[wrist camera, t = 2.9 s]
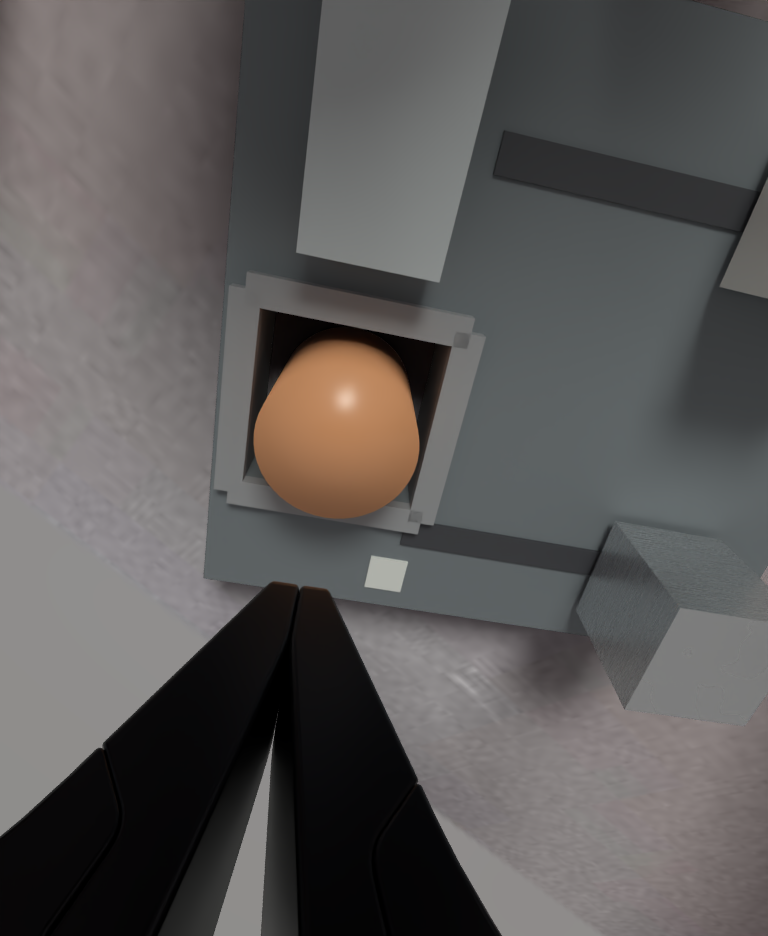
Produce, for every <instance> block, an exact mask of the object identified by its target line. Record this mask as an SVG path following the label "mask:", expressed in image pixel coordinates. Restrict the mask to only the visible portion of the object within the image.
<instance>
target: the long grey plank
mask: <svg viewBox="0 0 768 936" xmlns="http://www.w3.org/2000/svg"><path fill="white" fill-rule="evenodd" d="M510 2H511V0H322V9H321V18H320V28H319V38H318V47H317V57H316V66H315V76H314V86H313V95H312V105H311V115H310V124H309V134H308V143H307V153H306V163H305V172H304V182H303V191H302V201H301V211H300V220H299V230H298V239H297V249H296V253H301V254H306V255H310V256H315V257H320V258H325V259H329V260H334V261H339V262H344V263H348V264H353V265H358V266H363V267H367V268H372V269H377V270H382V271H386V272H391V273H396V274H401V275H405V276H410V277H415V278H420V279H424V280H429V281H434V282H440V278H441V274H442V270H443V266H444V262H445V258H446V254H447V251H448V247H449V243H450V239H451V235H452V231H453V227H454V223H455V219H456V215H457V211H458V207H459V203H460V199H461V195H462V191H463V188H464V184H465V180H466V176H467V172H468V168H469V164H470V160H471V156H472V152H473V148H474V144H475V140H476V136H477V132H478V128H479V125H480V121H481V117H482V113H483V109H484V105H485V101H486V97H487V93H488V89H489V85H490V81H491V77H492V73H493V69H494V65H495V61H496V58H497V54H498V50H499V46H500V42H501V38H502V34H503V30H504V26H505V22H506V18H507V14H508V10H509V6H510Z"/></svg>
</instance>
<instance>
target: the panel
mask: <svg viewBox="0 0 768 936" xmlns="http://www.w3.org/2000/svg"><path fill="white" fill-rule="evenodd" d="M321 9H322V0H245V9H244V23H243V37H242V51H241V65H240V79H239V93H238V106H237V120H236V134H235V148H234V162H233V176H232V190H231V204H230V218H229V232H228V245H227V259H226V273H225V287H224V301H223V315H222V329H221V343H220V357H219V371H218V384H217V398H216V412H215V426H214V440H213V454H212V468H211V482H210V496H209V510H208V523H207V537H206V551H205V565H204V578H206V579H212V580H219V581H226V582H232V583H239V584H246V585H252V586H259V587H266V586H267V585H268V584H269V583H270V582H273V581H277V582H284V583H291V584H296V585H298V587H299V591H300V588H301V587H302V586H311V587H318V588H325V589H327V590H329V591H330V593H331V595H332V597H333V598H338V599H345V600H352V601H358V602H365V603H372V604H378V605H385V606H391V607H398V608H405V609H411V610H418V611H425V612H431V613H438V614H444V615H451V616H458V617H464V618H471V619H478V620H484V621H491V622H498V623H504V624H511V625H517V626H524V627H531V628H537V629H544V630H551V631H557V632H564V633H570V634H577V635H584V636H588V634H587V632H586V630H585V628H584V626H583V624H582V622H581V620H580V618H579V616H578V614H577V612H576V608H577V606H578V603H579V601H580V599H581V597H582V594H583V592H584V590H585V588H586V585H587V583H588V581H589V579H590V576H591V574H592V572H593V570H594V567H595V565H596V563H597V561H598V558H599V556H600V554H601V552H602V549H603V547H604V545H605V543H606V540H607V538H608V536H609V534H610V531H611V529H612V527H613V525H614V522H615V521H617V522H623V523H628V524H634V525H640V526H646V527H652V528H657V529H663V530H669V531H675V532H681V533H686V534H692V535H698V536H704V537H709V538H715V539H721V540H722V541H723V542H724V543H725V544H726V545H727V546H728V547H729V548H730V549H731V550H732V551H733V552H734V553H735V554H736V555H737V556H738V557H739V558H740V559H741V560H742V561H743V562H744V563H745V564H746V565H747V566H748V567H749V568H750V569H751V570H752V571H753V572H754V573H755V574H756V575H757V576H758V577H761V576H762V574H763V572H764V571H765V569H766V567H767V566H768V299H767V298H763V297H759V296H755V295H751V294H747V293H743V292H739V291H735V290H730V289H726V288H722V287H719V286H720V284H721V282H722V279H723V277H724V275H725V273H726V270H727V268H728V266H729V264H730V261H731V259H732V257H733V255H734V252H735V250H736V248H737V246H738V243H739V241H740V239H741V237H742V234H743V232H744V230H745V228H746V225H747V223H748V221H749V219H750V216H751V214H752V212H753V210H754V207H755V205H756V203H757V201H758V198H759V196H760V194H761V192H762V189H763V187H764V185H765V183H766V180H767V178H768V21H764V20H761V19H757V18H753V17H750V16H746V15H742V14H739V13H735V12H731V11H728V10H724V9H720V8H717V7H713V6H709V5H706V4H702V3H698V2H695V1H691V0H511V2H510V6H509V10H508V14H507V18H506V22H505V26H504V30H503V34H502V38H501V42H500V46H499V50H498V54H497V58H496V61H495V65H494V69H493V73H492V77H491V81H490V85H489V89H488V93H487V97H486V101H485V105H484V109H483V113H482V117H481V121H480V125H479V128H478V132H477V136H476V140H475V144H474V148H473V152H472V156H471V160H470V164H469V168H468V172H467V176H466V180H465V184H464V188H463V191H462V195H461V199H460V203H459V207H458V211H457V215H456V219H455V223H454V227H453V231H452V235H451V239H450V243H449V247H448V251H447V254H446V258H445V262H444V266H443V270H442V274H441V278H440V282H434V281H429V280H424V279H420V278H415V277H410V276H405V275H401V274H396V273H391V272H386V271H382V270H377V269H372V268H367V267H363V266H358V265H353V264H348V263H344V262H339V261H334V260H329V259H325V258H320V257H315V256H310V255H306V254H301V253H296V249H297V239H298V230H299V220H300V211H301V201H302V191H303V182H304V172H305V163H306V153H307V143H308V134H309V124H310V115H311V105H312V95H313V86H314V76H315V66H316V57H317V47H318V38H319V28H320V18H321ZM276 312H281V313H287V314H292V315H297V316H302V317H307V318H312V319H317V320H322V321H327V322H332V323H337V324H342V325H347V326H352V327H357V328H362V329H367V330H372V331H377V332H382V333H387V334H392V335H397V336H402V337H407V338H412V339H417V340H422V341H427V342H432V343H436V345H435V349H434V354H433V358H432V362H431V366H430V370H429V374H428V378H427V382H426V387H425V391H424V395H423V399H422V403H421V407H420V411H419V416H418V420H417V428H418V434H419V456H418V461H417V465H416V468H415V471H414V473H413V475H412V477H411V479H410V481H409V482H408V484H407V485H406V487H405V488H404V489H403V490H402V492H401V493H400V494H399V495H398V496H397V497H396V498H395V499H393V500H392V501H391V502H390V503H388V504H387V505H385V506H384V507H382V508H380V509H378V510H376V511H374V512H372V513H369V514H366V515H363V516H358V517H354V518H345V519H333V518H324V517H320V516H315V515H312V514H309V513H306V512H304V511H302V510H300V509H297V508H295V507H294V506H292V505H291V504H289V503H287V502H286V501H285V500H284V499H282V498H281V497H280V496H279V495H278V494H277V493H276V492H275V491H274V490H273V489H272V488H271V487H270V485H269V484H268V483H267V481H266V480H265V478H264V476H263V475H262V473H261V471H260V468H259V466H258V464H257V460H256V456H255V452H254V429H255V424H256V420H257V417H258V414H259V412H260V410H261V408H262V406H263V404H264V402H265V401H266V397H267V388H268V379H269V370H270V361H271V352H272V344H273V335H274V326H275V317H276Z"/></svg>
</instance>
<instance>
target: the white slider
mask: <svg viewBox="0 0 768 936" xmlns="http://www.w3.org/2000/svg"><path fill="white" fill-rule="evenodd" d="M719 287H722V288H726V289H730V290H735V291H739V292H743V293H747V294H751V295H755V296H759V297H763V298H767V299H768V178H767V180H766V183H765V185H764V187H763V189H762V192H761V194H760V196H759V198H758V201H757V203H756V205H755V207H754V210H753V212H752V214H751V216H750V219H749V221H748V223H747V225H746V228H745V230H744V232H743V234H742V237H741V239H740V241H739V243H738V246H737V248H736V250H735V252H734V255H733V257H732V259H731V261H730V264H729V266H728V268H727V270H726V273H725V275H724V277H723V279H722V282H721V284H720V286H719Z"/></svg>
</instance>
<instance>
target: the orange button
mask: <svg viewBox="0 0 768 936" xmlns="http://www.w3.org/2000/svg"><path fill="white" fill-rule="evenodd" d="M254 452H255V456H256V460H257V464H258V466H259V468H260V471H261V473H262V475H263V476H264V478H265V480H266V481H267V483H268V484H269V485H270V487H271V488H272V489H273V490H274V491H275V492H276V493H277V494H278V495H279V496H280V497H281V498H282V499H284V500H285V501H286V502H287V503H289V504H291V505H292V506H294V507H295V508H297V509H300V510H302V511H304V512H306V513H309V514H312V515H315V516H320V517H324V518H333V519H345V518H354V517H358V516H363V515H366V514H369V513H372V512H374V511H376V510H378V509H380V508H382V507H384V506H385V505H387V504H388V503H390V502H391V501H392V500H393V499H395V498H396V497H397V496H398V495H399V494H400V493H401V492H402V490H403V489H404V488H405V487H406V485H407V484H408V482H409V481H410V479H411V477H412V475H413V473H414V471H415V468H416V465H417V461H418V456H419V434H418V428H417V422H416V417H415V411H414V406H413V400H412V395H411V389H410V384H409V379H408V375H407V371H406V369H405V366H404V364H403V362H402V360H401V358H400V357H399V355H398V354H397V353H396V351H395V350H394V349H393V348H392V347H391V346H390V345H389V344H388V343H387V342H386V341H384V340H383V339H382V338H380V337H378V336H377V335H375V334H373V333H370V332H368V331H366V330H362V329H358V328H352V327H337V328H330V329H326V330H323V331H320V332H318V333H316V334H314V335H312V336H310V337H309V338H307V339H306V340H305V341H303V342H302V343H301V344H300V345H299V346H298V347H297V348H296V349H295V351H294V352H293V353H292V355H291V356H290V358H289V360H288V361H287V363H286V365H285V367H284V369H283V370H282V372H281V374H280V376H279V377H278V379H277V381H276V383H275V385H274V386H273V388H272V390H271V392H270V393H269V395H268V397H267V399H266V401H265V402H264V404H263V406H262V408H261V410H260V412H259V414H258V417H257V420H256V424H255V429H254Z"/></svg>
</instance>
